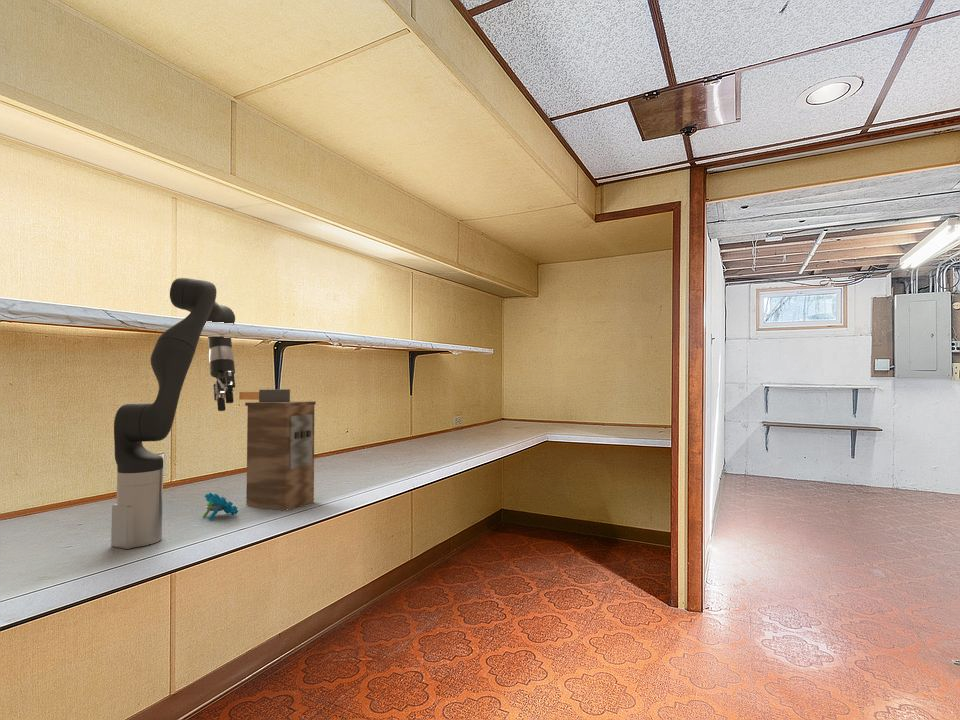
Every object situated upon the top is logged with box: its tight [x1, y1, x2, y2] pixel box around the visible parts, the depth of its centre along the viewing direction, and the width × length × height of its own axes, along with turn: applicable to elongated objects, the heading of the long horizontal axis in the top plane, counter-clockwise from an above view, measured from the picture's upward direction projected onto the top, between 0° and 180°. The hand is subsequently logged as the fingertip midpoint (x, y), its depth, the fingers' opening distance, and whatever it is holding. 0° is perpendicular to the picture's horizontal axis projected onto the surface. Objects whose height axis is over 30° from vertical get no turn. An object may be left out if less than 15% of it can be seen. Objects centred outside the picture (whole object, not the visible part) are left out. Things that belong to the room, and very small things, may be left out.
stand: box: [244, 400, 317, 511], centre depth 158 cm, size 13×18×32 cm
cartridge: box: [238, 388, 291, 402], centre depth 162 cm, size 5×18×4 cm, turn 66°
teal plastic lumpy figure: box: [202, 492, 239, 521], centre depth 141 cm, size 11×6×10 cm
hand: (225, 406), depth 166 cm, fingers open, 8 cm apart
